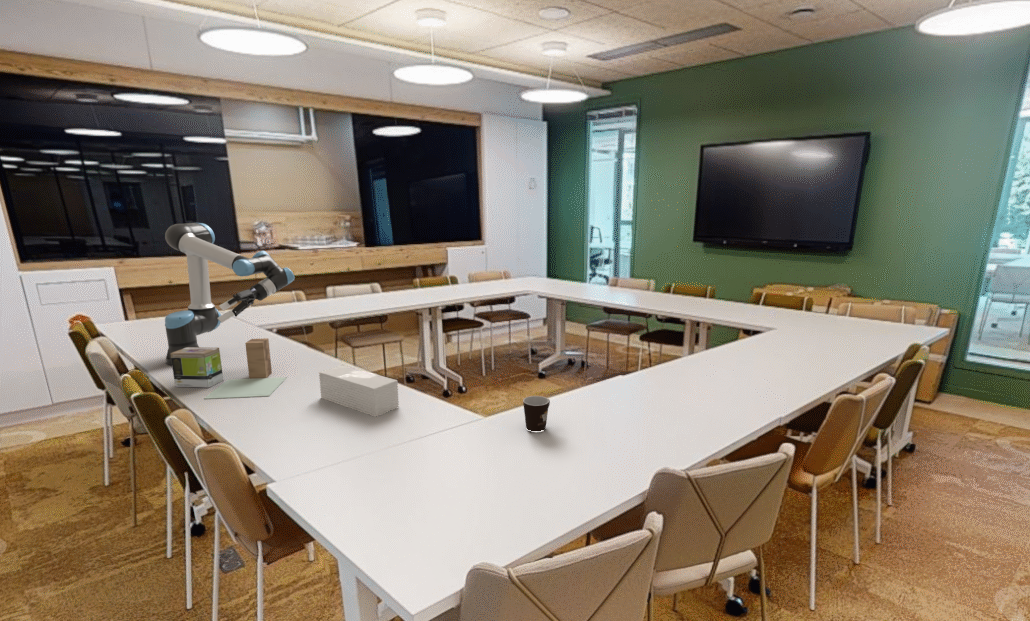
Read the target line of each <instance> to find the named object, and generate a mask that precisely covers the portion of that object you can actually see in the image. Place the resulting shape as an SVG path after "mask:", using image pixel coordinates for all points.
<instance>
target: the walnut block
mask: <svg viewBox="0 0 1030 621" xmlns="http://www.w3.org/2000/svg"><path fill="white" fill-rule="evenodd" d="M245 350H246V351H245V352H246V360H247V370H248V379H255V378H269V376H271V375H272V374H273V371H272V361H271V352H270V350H271V349H270V340H269V338H267V337H266V338H265V337H264V338H251V339H249V340H248V341H246V342H245Z"/></svg>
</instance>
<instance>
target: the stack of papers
mask: <svg viewBox="0 0 1030 621" xmlns="http://www.w3.org/2000/svg"><path fill="white" fill-rule="evenodd" d="M318 374H319V375H318V377H319V388H320V398H321V399H323V400H326V401H329V402H332V403H335V404H337V405H341V406H343V407H346V408H348V409H351V408H352V410H354V409H355V411H357V410H358V411H357V412H361V413H363V412H364V413H363V414H366V413H367V415H369V414H370V415H369V416H372V415H373V416H372V417H374V416H377V417H379V416H378V415H380V416H382V415H384V414H386V412H387V413H389V412H391V411H390V410H392V411H394V410H396V409H398V408H397V407H400V406H399V405H400V404H399V402H400V401H399V386H398V385H399V384H398V380H397V379H394V378H390V377H387V376H383V375H379V374H377V373H372V372H368V371H366V370H362V369H358V368H355V367H351V366H350V367H349V366H347V365H343V364H342V365H341V364H340V365H338V366H334V367H330V368H328V369H325V370H321V371H319V372H318ZM395 408H396V409H395ZM393 409H394V410H393ZM388 411H389V412H388ZM383 413H384V414H383ZM381 414H382V415H381Z"/></svg>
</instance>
